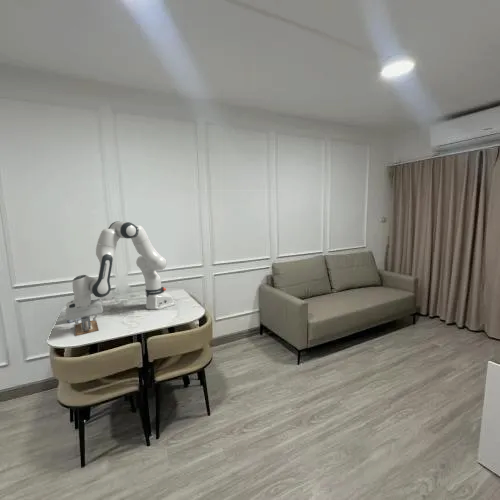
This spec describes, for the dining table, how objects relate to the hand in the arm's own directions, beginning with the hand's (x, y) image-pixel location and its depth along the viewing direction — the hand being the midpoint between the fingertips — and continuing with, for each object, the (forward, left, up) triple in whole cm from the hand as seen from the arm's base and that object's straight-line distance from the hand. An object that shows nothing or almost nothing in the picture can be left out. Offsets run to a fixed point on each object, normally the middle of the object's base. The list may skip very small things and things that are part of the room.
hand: (86, 322), depth 176 cm
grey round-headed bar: (0, 0, -3) cm, 3 cm away
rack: (0, -1, -4) cm, 4 cm away
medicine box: (+6, -20, -4) cm, 22 cm away
